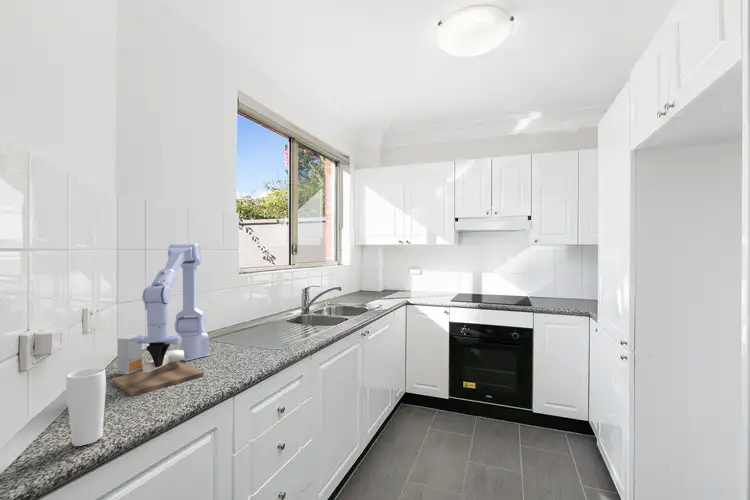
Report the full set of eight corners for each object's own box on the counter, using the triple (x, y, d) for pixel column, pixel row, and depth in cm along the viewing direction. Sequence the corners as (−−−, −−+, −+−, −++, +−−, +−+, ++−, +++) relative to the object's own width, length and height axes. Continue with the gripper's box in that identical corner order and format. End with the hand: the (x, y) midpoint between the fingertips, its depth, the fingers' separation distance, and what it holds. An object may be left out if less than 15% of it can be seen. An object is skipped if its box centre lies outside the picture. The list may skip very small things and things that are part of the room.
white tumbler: (82, 434, 83) (80, 368, 82) (114, 432, 83) (112, 366, 83) (59, 451, 76) (57, 378, 76) (93, 448, 76) (92, 377, 76)
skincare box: (128, 375, 122) (127, 339, 122) (117, 374, 123) (116, 338, 123) (143, 369, 128) (142, 334, 128) (132, 368, 129) (131, 334, 129)
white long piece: (169, 356, 129) (169, 349, 129) (188, 356, 129) (188, 349, 129) (135, 372, 113) (135, 363, 113) (156, 372, 112) (156, 364, 112)
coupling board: (180, 365, 131) (180, 355, 131) (203, 375, 120) (203, 365, 120) (112, 382, 116) (111, 371, 116) (131, 396, 104) (131, 383, 104)
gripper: (126, 326, 112) (127, 370, 112) (170, 326, 111) (171, 371, 111) (143, 321, 119) (144, 363, 119) (185, 321, 118) (186, 363, 118)
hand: (158, 366), depth 116 cm, fingers closed
